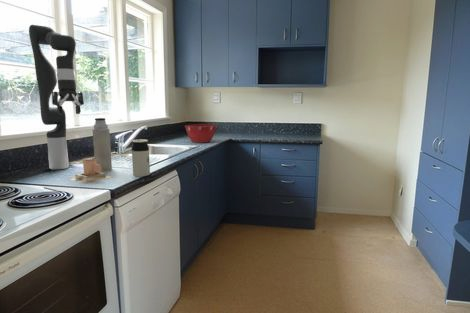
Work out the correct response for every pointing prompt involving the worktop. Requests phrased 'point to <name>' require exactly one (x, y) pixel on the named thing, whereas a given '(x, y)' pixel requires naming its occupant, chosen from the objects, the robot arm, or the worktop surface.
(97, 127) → the thermos bottle
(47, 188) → the mat
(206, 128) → the mixing bowl
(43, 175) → the worktop surface
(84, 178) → the dock
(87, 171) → the tabbed peach cylinder
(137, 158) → the travel mug
